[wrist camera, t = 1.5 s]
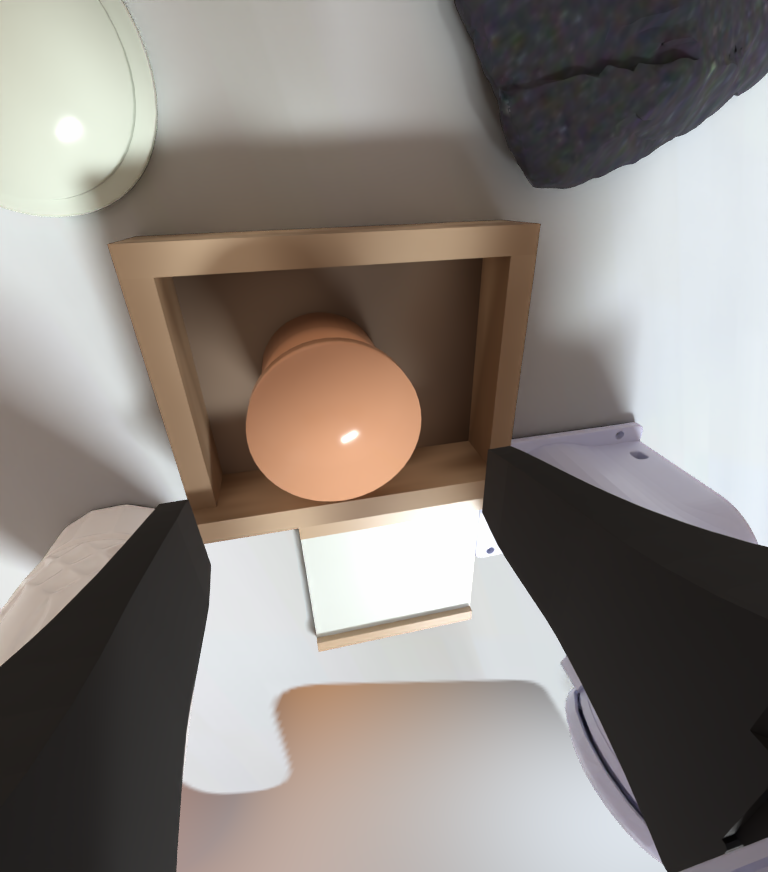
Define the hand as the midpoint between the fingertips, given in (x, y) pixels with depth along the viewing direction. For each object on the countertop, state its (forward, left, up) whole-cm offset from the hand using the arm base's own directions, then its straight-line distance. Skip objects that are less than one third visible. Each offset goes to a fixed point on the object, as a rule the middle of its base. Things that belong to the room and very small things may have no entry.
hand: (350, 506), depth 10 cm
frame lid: (-3, +13, -10) cm, 17 cm away
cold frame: (-1, 0, -10) cm, 10 cm away
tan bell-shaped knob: (0, 0, -9) cm, 9 cm away
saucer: (+8, -10, -10) cm, 16 cm away
